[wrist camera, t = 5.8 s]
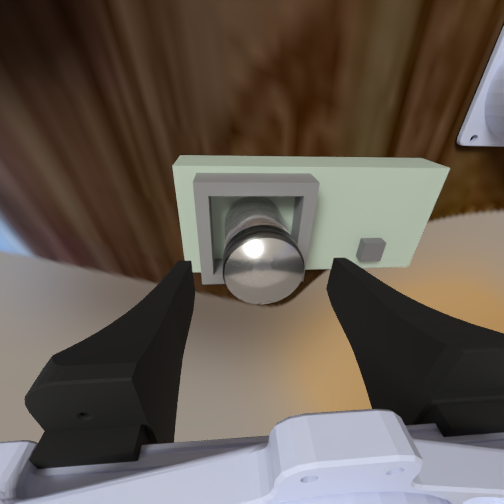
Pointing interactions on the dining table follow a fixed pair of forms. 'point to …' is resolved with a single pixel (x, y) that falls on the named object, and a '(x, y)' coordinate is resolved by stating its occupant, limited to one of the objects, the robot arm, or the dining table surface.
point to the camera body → (310, 205)
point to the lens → (259, 252)
